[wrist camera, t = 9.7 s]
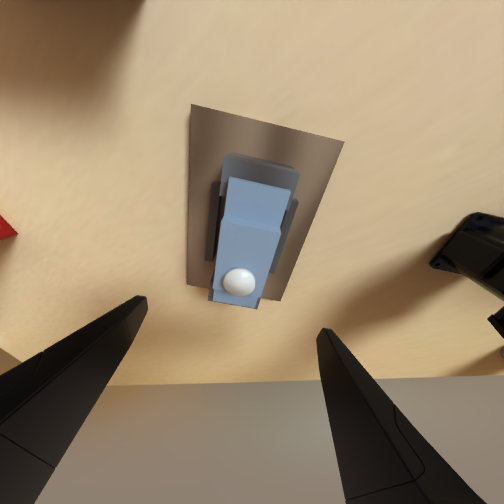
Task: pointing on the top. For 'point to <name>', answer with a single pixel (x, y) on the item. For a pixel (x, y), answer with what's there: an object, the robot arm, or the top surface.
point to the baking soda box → (6, 229)
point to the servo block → (247, 240)
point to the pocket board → (261, 144)
